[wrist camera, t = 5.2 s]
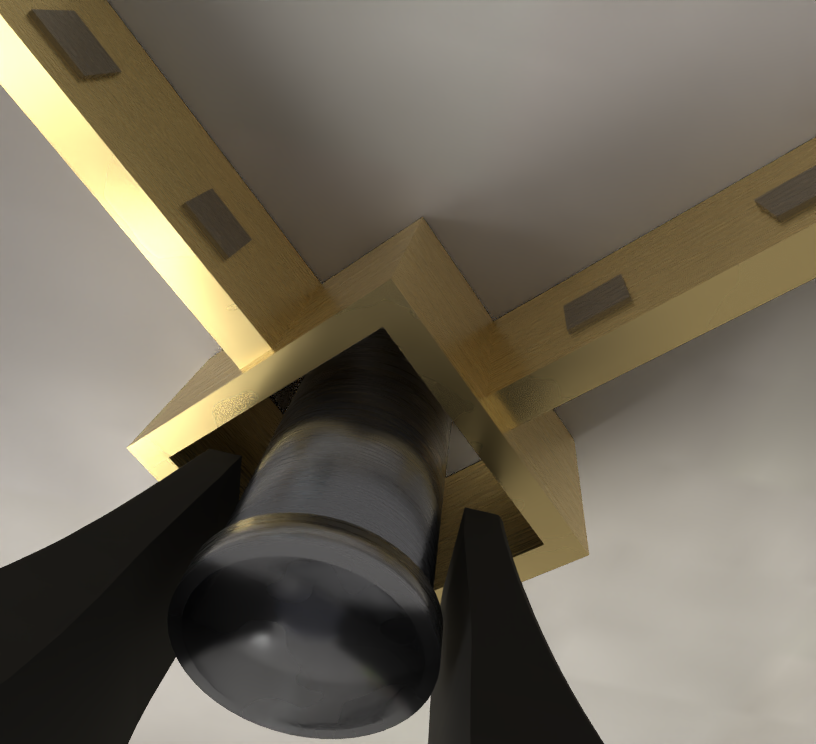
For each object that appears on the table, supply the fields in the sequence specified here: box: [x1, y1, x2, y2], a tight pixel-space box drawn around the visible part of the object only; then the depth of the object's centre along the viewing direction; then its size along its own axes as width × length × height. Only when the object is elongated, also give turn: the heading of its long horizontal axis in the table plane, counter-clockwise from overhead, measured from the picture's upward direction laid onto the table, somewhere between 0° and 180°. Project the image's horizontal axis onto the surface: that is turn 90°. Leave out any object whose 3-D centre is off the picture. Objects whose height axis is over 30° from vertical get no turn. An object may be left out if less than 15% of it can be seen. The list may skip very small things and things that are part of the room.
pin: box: [167, 328, 452, 739], centre depth 12 cm, size 4×4×7 cm
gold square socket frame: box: [0, 0, 816, 603], centre depth 12 cm, size 14×14×4 cm
